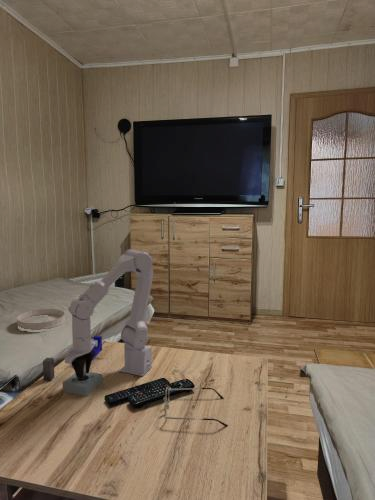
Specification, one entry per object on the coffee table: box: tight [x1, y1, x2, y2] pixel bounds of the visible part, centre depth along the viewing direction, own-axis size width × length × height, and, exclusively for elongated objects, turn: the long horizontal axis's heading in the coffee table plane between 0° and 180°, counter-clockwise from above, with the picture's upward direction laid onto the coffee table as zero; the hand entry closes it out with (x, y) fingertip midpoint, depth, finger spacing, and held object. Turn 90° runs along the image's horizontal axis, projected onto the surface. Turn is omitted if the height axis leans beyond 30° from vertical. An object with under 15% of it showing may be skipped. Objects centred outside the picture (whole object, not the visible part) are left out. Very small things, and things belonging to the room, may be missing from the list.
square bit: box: [42, 357, 55, 382], centre depth 116 cm, size 3×3×7 cm
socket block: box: [62, 371, 103, 397], centre depth 112 cm, size 9×9×3 cm
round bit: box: [78, 361, 87, 381], centre depth 111 cm, size 3×3×7 cm
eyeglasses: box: [163, 386, 229, 427], centre depth 100 cm, size 16×19×5 cm
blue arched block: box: [92, 335, 103, 361], centre depth 135 cm, size 12×4×6 cm, turn 173°
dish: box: [16, 308, 66, 330], centre depth 168 cm, size 22×22×5 cm
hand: (82, 374), depth 112 cm, fingers closed on round bit, 3 cm apart
